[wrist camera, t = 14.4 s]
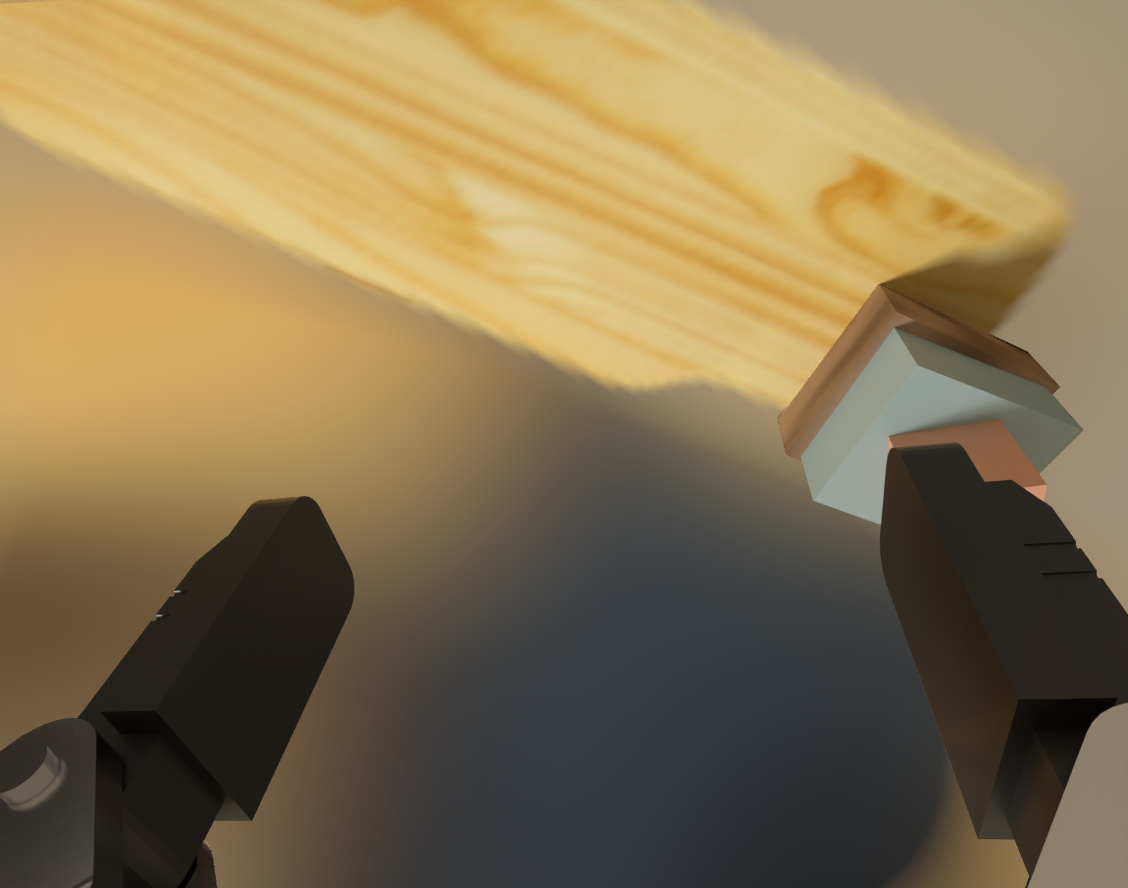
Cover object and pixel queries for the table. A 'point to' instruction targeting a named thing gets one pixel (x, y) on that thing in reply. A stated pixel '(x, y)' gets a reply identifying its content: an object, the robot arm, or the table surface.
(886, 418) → the tower top block
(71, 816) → the robot arm
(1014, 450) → the terracotta block
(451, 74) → the table surface
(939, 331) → the tower base block
